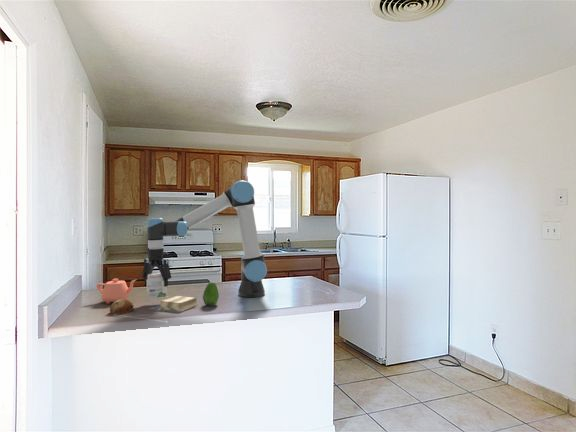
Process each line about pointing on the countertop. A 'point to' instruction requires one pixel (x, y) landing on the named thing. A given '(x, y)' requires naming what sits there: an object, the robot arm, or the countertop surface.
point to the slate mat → (163, 309)
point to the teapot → (115, 290)
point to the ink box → (155, 285)
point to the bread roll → (121, 307)
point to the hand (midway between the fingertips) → (156, 292)
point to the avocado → (211, 294)
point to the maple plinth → (178, 303)
